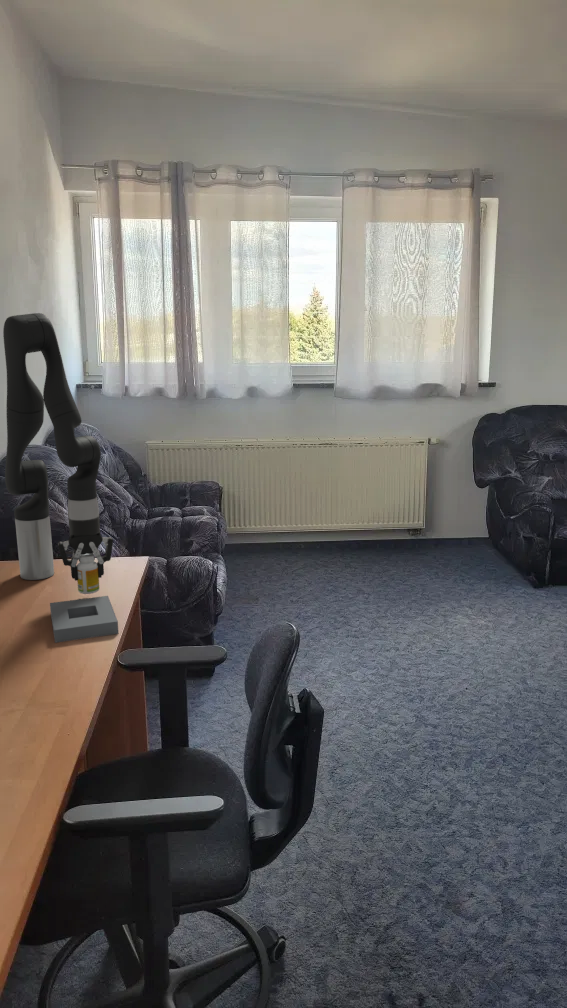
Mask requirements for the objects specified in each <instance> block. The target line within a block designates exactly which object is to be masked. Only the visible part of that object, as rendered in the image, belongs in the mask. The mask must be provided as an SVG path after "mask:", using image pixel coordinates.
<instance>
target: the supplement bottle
mask: <svg viewBox="0 0 567 1008" xmlns="http://www.w3.org/2000/svg"><path fill="white" fill-rule="evenodd" d="M95 560H96V556H95V554H94V553H93V554H84V555H80V557H79V559H78V562H77V564H76V566H77V575H78V580H76V581H77V591H78V593H79V594H82V595H90V594H94V593H97V592H99V590H100V578H99V575H98V564H97V562H96V561H95Z"/></svg>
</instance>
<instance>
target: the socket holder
mask: <svg viewBox="0 0 567 1008" xmlns="http://www.w3.org/2000/svg"><path fill="white" fill-rule="evenodd" d="M49 606H50V607H49V608H50V617H51V618H50V619H51V625H52V632H53V637H54V638H53V639H54V644H55V643H56V644H57V643H63V642H64V643H65V642H69V641H77V640H84V639H90V638H97V637H105V636H111V635H117V634H119V621H118V619H117V616H116V613H115V611H114V608H113V604H112V602H111V600H110V598H109V595H103V596H101V595H100V596H96V597H88V598H79V599H71V600H70V599H69V600H64V601H55V602H49Z"/></svg>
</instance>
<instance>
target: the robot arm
mask: <svg viewBox="0 0 567 1008" xmlns="http://www.w3.org/2000/svg"><path fill="white" fill-rule="evenodd" d="M2 334H3V345H4V356H5V357H4V358H5V368H6V433H7V437H6V439H7V441H6V455H5V470H4V471H5V472H4V480H5V481H4V482H5V487H6V490H7V492H8V493H9V494H10V495H13V496H22V495H30V494H33V495H32V497H31V498H30V499H29V500H27V501H26V502H24V503H22V504H20V505H18V506H17V507H15V509H14V512H13V513H14V523H15V532H16V534H15V535H16V543H17V553H18V562H19V563H18V564H19V573H20V574H19V575H20V576H19V577H20V578H21V579H22V580H25V581H38V580H44V579H48V578H50V577H52V576H54V574H55V568H54V567H55V566H54V556H53V555H54V554H53V544H52V542H53V541H52V531H51V530H52V529H51V520H50V519H51V518H50V501H49V500H50V499H49V478H48V477H49V476H48V475H49V474H48V469H47V465H46V463H45V462H44V461H43V460H42V459H34V460H33V459H31V460H23V455H24V453H25V451H26V449H27V447H28V446H29V445H30V443H32V441H33V439H34V438H36V436H37V434H38V433H39V432H40V430H41V428H42V426H43V425H44V418H45V411H44V410H45V409H46V411H47V414H48V416H49V419H50V421H51V424H52V427H53V434H54V440H55V449H56V453H57V456H58V459H59V460H60V462H61V463H62V464H63V465H64V466H66V467H69V468H75V467H77V468H76V471H75V472H74V473H73V474H71V475H70V476H68V478H67V481H66V487H67V497H68V499H67V515H68V530H69V537H68V540H66V541H60V540H59V541H58V542H57V546H58V551H59V553H60V557H61V559H62V564H63V565H64V566H69V568H70V574H71V578H72V579H74V581H75V582H76V581H77V580H78V575H77V564H78V562H79V557H80V555H84V554H94V555H95V559H96V560H97V562H96V563H97V564H98V575H99V579H100V578H101V579H102V576H104V574H105V571H104V570H105V568H104V564H105V563H106V562H110V561H111V559H112V558H111V557H112V553H113V552H112V551H113V545H114V539H113V537H111V536H105V537H104V536H102V534H101V526H100V509H99V508H100V507H99V501H98V495H97V493H98V492H97V478H98V473H99V470H100V469H99V467H100V462H101V456H102V455H101V454H102V452H101V446H100V444H99V442H98V441H97V439H96V438H95V437H94V436H91V435H81V436H76V435H75V429H76V428H78V427H79V426H81V424H82V416H81V414H80V412H79V408H78V407H77V405H76V402H75V399H74V397H73V393H72V391H71V390H70V389H71V388H70V385H69V383H68V380H67V379H68V378H67V375H66V370H65V367H64V362H63V359H62V355H61V349H60V346H59V342H58V338H57V334H56V331H55V328H54V326H53V324H52V321H51V319H50V318H49V317H48V316H47V315H46V314H44V313H40V312H33V313H26V314H17V315H15V314H14V315H11V316H8V317H7V318H6V319H5V321H4V324H3V333H2ZM37 352H38V353H39V352H41V354H42V355H43V358H44V361H45V373H46V374H45V379H44V384H43V386H44V387H43V394H42V392H41V390H40V389H39V387H38V386H37V384H35V382H34V380H33V379H32V378H31V376H30V375H29V373H28V369H27V364H26V363H27V362H26V361H27V360H26V359H27V358H26V357H27V354H31V353H37ZM102 543H103V545H104V546H105V550H104V555H101V553H100V551H99V550H98V549H99V547H100V546H101V544H102ZM68 546H70V547H71V548H72V549H73V552H72V556H71V559H68V556H67V553H66V551H67V550H68Z"/></svg>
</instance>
